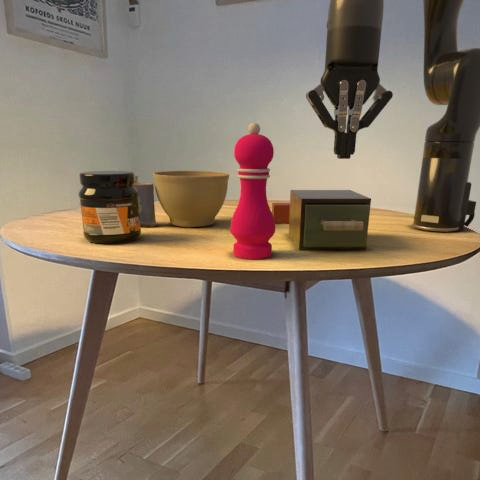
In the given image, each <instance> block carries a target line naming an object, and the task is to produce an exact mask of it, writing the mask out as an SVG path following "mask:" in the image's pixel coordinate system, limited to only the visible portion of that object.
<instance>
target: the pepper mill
mask: <svg viewBox="0 0 480 480" xmlns="http://www.w3.org/2000/svg"><path fill="white" fill-rule="evenodd" d="M247 130H248V133H249V134H245V135H243V136H241V137H240V138H239V139H238V140H237V142H236V143H235V146H234V149H233V150H234V151H233V155H234V159H235V161H236V162H237V164H238V166H239V167H238V168H237V169H236V170H237V178H238V179H239V182H240V196H239V199H238V203H237V206H236V208H235V209H234V212H233V214H232V218H231V222H230V229H229V230H230V234H231V235H232V236H233V237H234V239H235V240H236V242H234V243H233V247H232V248H233V250H232V251H233V253H232V254H233V256H234V257H235V258H238V259H242V260H243V259H244V260H261V259H266V258H270V257H271V256H272V253H273V245H272V243H271V242H269V241H270V240H271V239H272V238H273V236H274V235H275V233H276V223H275V221H274V217H273V215H272V209H271V207H270V204H269V202H268V197H267V185H268V184H267V183H268V179H269V178H270V177H271V175H270V171H271V168H268V167H269V164H270V163H271V162H272V160H273V159H274V153H275V152H274V145H273V143H272V141H271V140H270V138H268V137H267V136H265V135H263V134H261V133H260V132H261V126H260V124H259V123H258V122H251V123H250V124H249V125H248V128H247ZM259 133H260V134H259Z"/></svg>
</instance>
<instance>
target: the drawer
mask: <svg viewBox="0 0 480 480" xmlns="http://www.w3.org/2000/svg"><path fill="white" fill-rule="evenodd" d="M369 211H370V212H371V205H361V204H359V203H348V204H306V205H305V224H304V243H303V246H304V247H366V248H367V244H366V240H367V241H368V234H367V230H368V231H369V224H368V221H369V222H370V215H369Z"/></svg>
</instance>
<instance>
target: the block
mask: <svg viewBox="0 0 480 480" xmlns="http://www.w3.org/2000/svg"><path fill="white" fill-rule="evenodd" d="M271 212H272V215H273V217H274V221H275V224H289V215H290V202H272V203H271Z"/></svg>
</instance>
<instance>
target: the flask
mask: <svg viewBox="0 0 480 480" xmlns="http://www.w3.org/2000/svg"><path fill="white" fill-rule="evenodd" d="M134 176H135V183H134V184H133V185H134V187H135V188H136V189H137V190H138V193H139V196H138V202H139V216H140V227H141V228H142V227H143V228H154V227H156V226H157V222H156V221H157V219H156V209H155V208H156V207H155V194H154V190H155V186H154V183H152V182H151V183H150V182H149V183H148V182H138V180H139V179H138V178H139V174H137V173H136V174H135V173H134Z"/></svg>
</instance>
